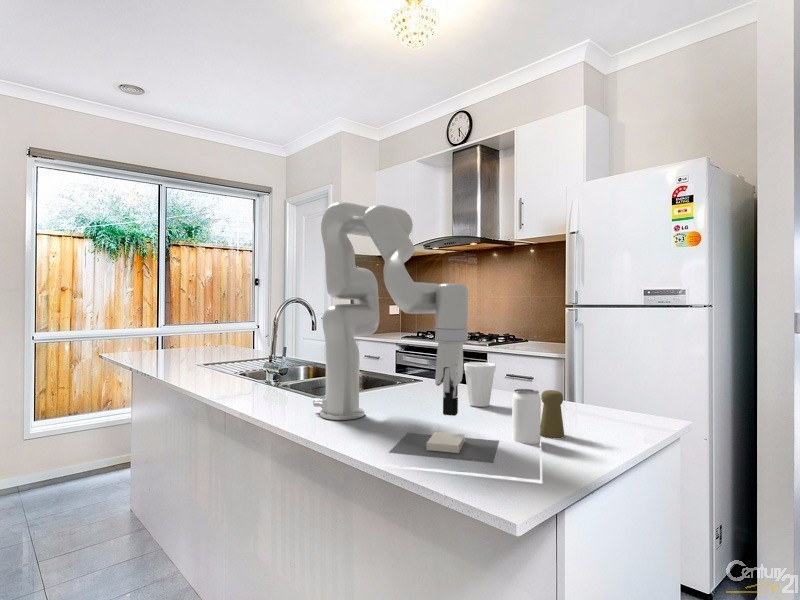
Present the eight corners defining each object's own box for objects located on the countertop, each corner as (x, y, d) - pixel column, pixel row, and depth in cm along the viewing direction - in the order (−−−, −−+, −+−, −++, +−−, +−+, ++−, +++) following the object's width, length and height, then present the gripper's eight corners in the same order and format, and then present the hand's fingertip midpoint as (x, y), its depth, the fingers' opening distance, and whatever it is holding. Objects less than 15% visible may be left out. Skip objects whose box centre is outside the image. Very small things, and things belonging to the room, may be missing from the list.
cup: (475, 400, 161) (475, 361, 161) (501, 405, 154) (502, 364, 154) (456, 405, 153) (457, 363, 153) (483, 410, 146) (483, 367, 146)
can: (535, 447, 110) (536, 394, 110) (508, 443, 114) (508, 391, 114) (543, 440, 116) (544, 390, 116) (517, 436, 119) (517, 387, 119)
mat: (388, 455, 104) (388, 452, 104) (407, 435, 120) (407, 432, 120) (493, 465, 98) (493, 462, 98) (499, 443, 114) (499, 440, 114)
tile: (434, 439, 114) (426, 450, 106) (435, 431, 114) (426, 442, 106) (464, 441, 112) (458, 453, 104) (464, 434, 112) (458, 445, 104)
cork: (551, 439, 117) (552, 393, 117) (533, 433, 122) (534, 389, 122) (570, 436, 120) (570, 391, 120) (551, 430, 125) (552, 387, 125)
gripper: (442, 333, 122) (441, 406, 123) (428, 338, 108) (427, 420, 108) (472, 334, 120) (471, 408, 120) (461, 339, 106) (460, 423, 106)
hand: (450, 414), depth 114 cm, fingers closed
